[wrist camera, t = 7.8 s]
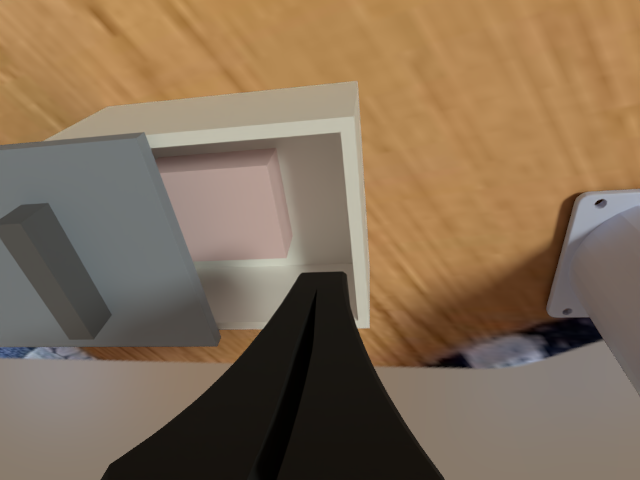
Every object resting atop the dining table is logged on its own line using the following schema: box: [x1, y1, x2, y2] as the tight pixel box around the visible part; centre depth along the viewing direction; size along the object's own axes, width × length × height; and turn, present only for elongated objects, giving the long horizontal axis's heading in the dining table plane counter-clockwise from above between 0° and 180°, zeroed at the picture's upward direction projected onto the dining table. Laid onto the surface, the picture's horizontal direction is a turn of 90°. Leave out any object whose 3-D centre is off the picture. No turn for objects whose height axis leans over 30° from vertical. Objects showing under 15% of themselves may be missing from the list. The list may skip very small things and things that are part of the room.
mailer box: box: [44, 81, 370, 330], centre depth 19 cm, size 12×10×5 cm
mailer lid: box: [0, 132, 221, 347], centre depth 17 cm, size 12×10×2 cm
